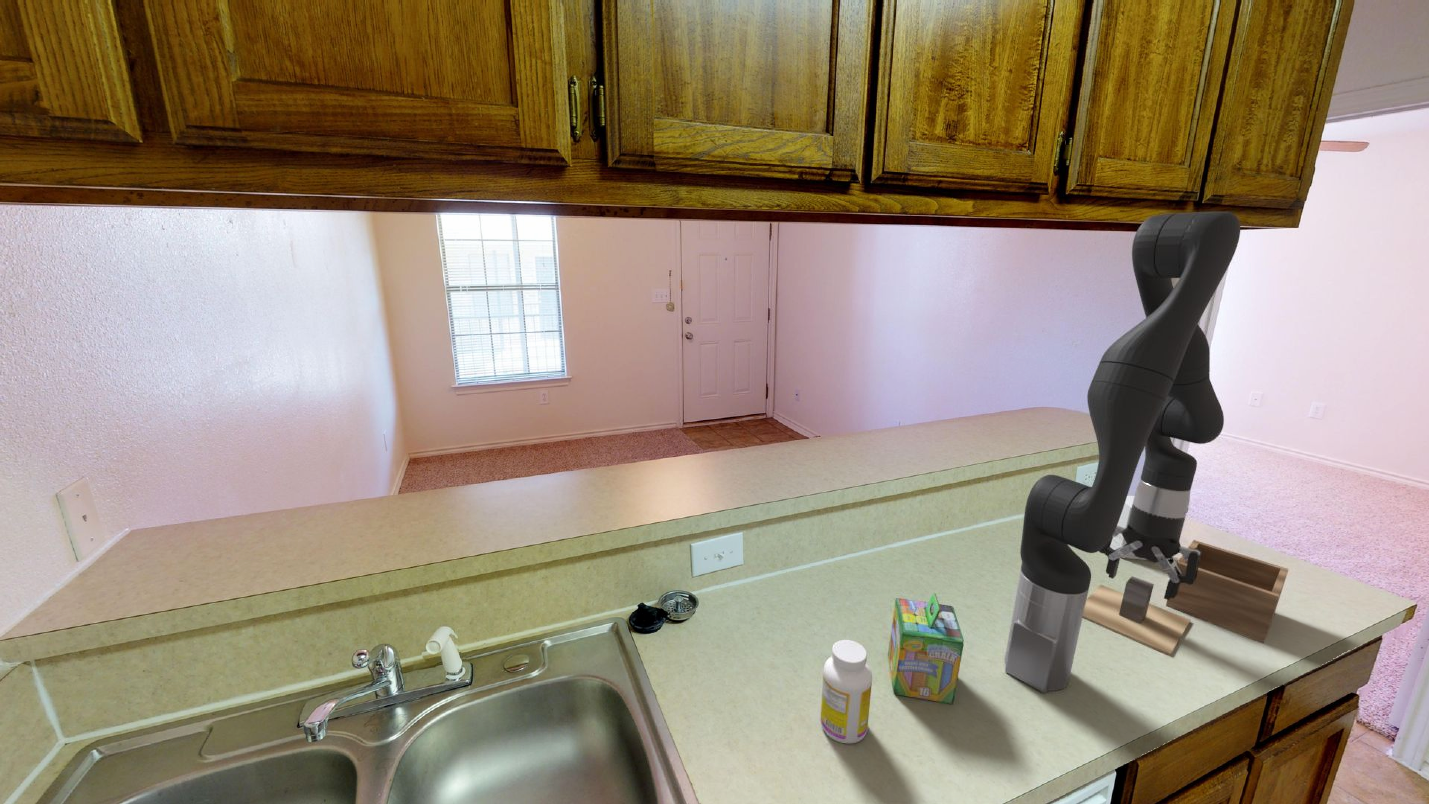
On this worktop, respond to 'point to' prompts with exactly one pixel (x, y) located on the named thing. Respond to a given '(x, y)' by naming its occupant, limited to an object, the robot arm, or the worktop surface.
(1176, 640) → the lid
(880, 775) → the worktop surface
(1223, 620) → the box
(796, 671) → the worktop surface
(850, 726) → the supplement bottle
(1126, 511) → the supplement box
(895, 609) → the chalk box
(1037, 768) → the worktop surface
